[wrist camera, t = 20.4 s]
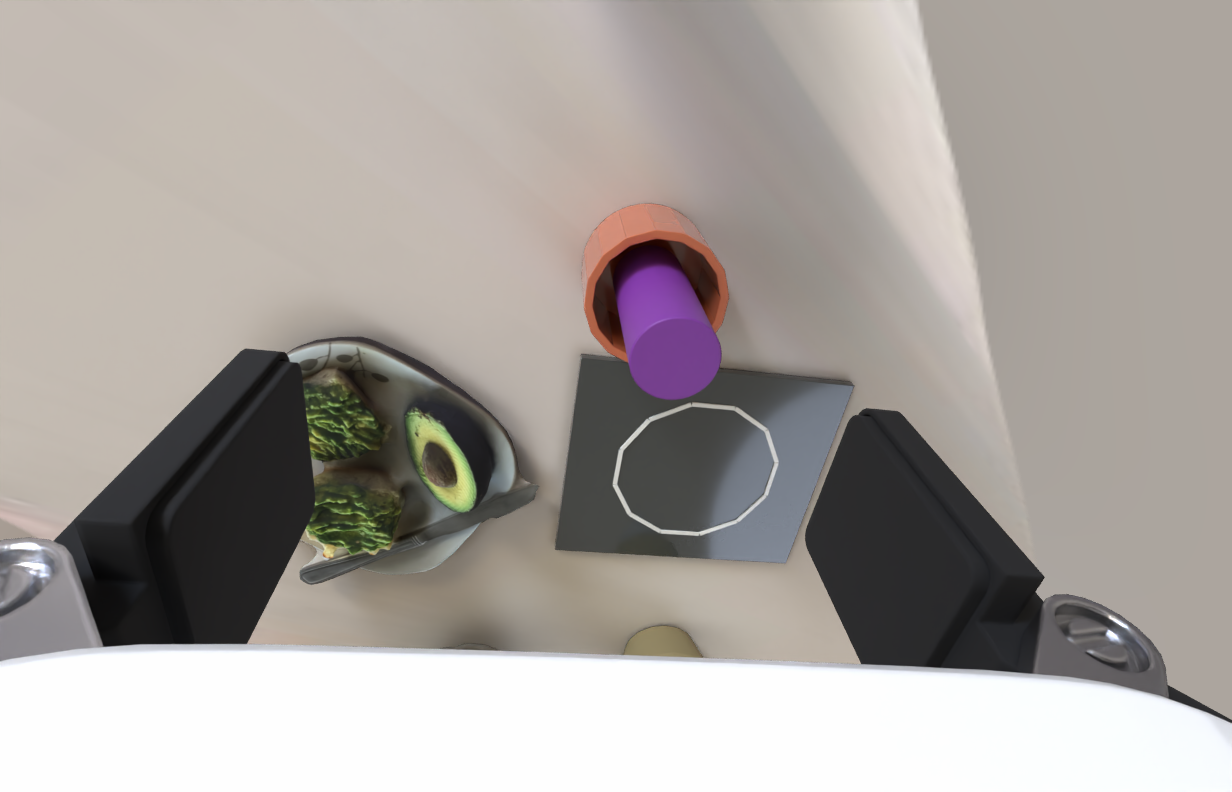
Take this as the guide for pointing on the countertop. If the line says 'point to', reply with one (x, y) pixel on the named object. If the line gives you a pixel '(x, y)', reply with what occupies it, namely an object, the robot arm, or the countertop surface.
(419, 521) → the salad plate
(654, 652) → the squeeze bottle
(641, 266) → the cylinder
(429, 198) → the countertop surface
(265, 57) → the countertop surface
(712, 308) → the pen pot
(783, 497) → the slate board
